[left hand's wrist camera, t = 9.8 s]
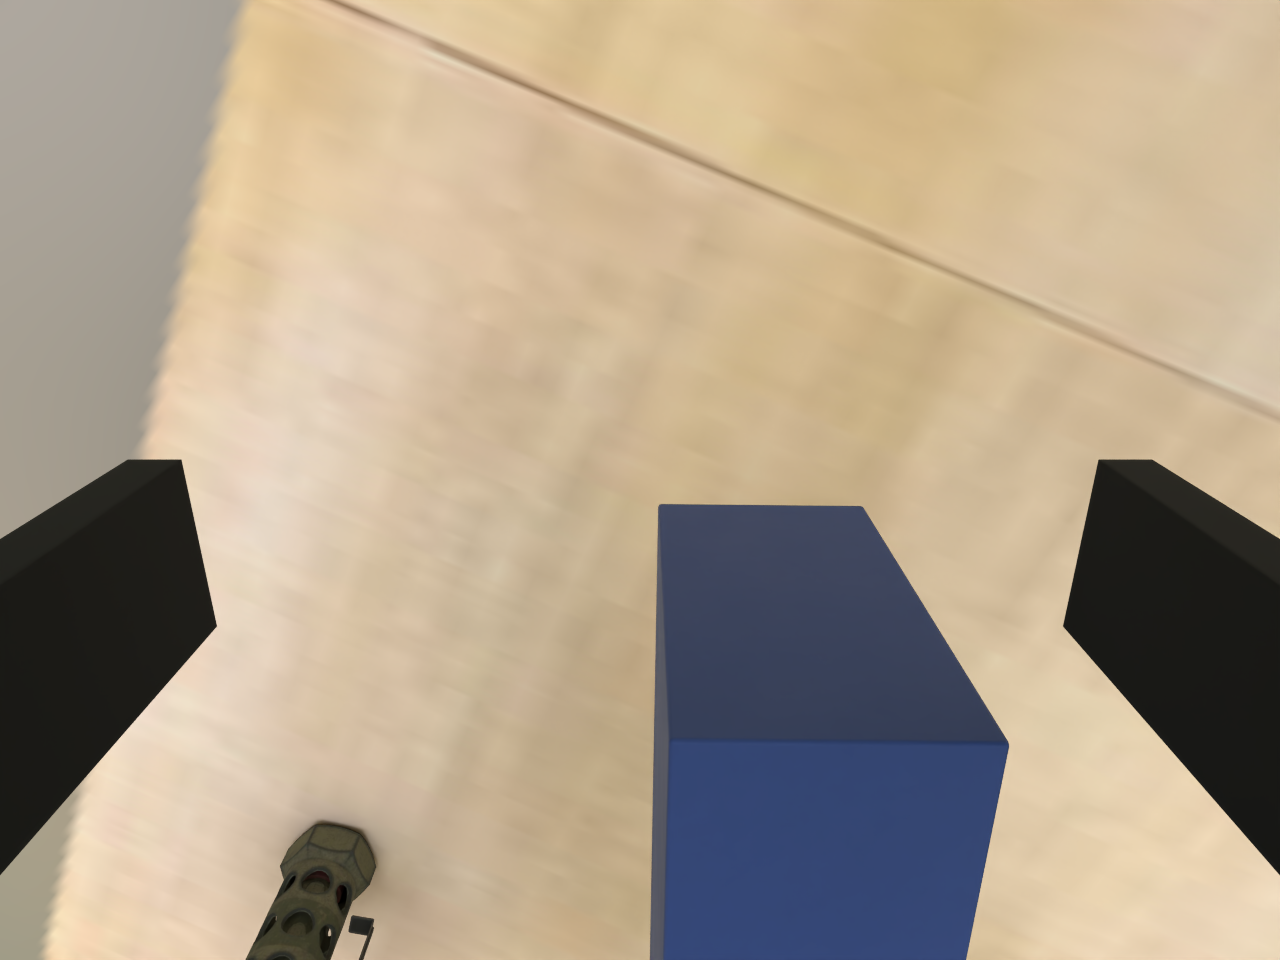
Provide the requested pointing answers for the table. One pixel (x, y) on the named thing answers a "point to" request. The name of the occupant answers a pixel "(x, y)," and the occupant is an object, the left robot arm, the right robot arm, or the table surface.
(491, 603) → the table surface
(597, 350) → the table surface
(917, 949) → the bar
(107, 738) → the left robot arm
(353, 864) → the grenade
